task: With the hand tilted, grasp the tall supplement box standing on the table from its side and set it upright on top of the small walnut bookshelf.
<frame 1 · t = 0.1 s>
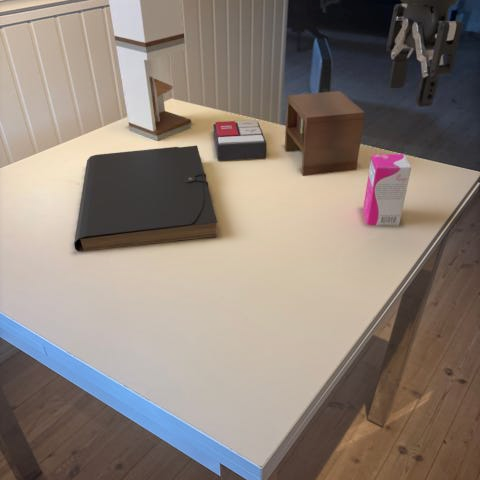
hand: (408, 95, 70), 23 cm above the table, tool pointing down, fingers open, 8 cm apart
shelf: (319, 159, 109), on the table
white tower: (160, 129, 124), on the table
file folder: (147, 202, 95), on the table
dark grey flat box: (238, 147, 115), on the table
supplement box: (379, 221, 89), on the table
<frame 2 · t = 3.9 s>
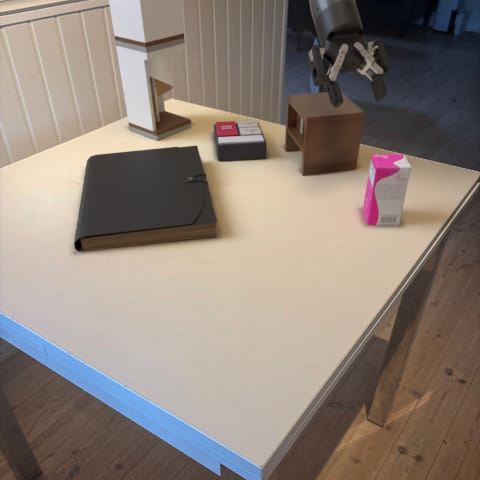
hand: (360, 102, 85), 17 cm above the table, tool tilted 45°, fingers open, 8 cm apart
nothing on the table moved.
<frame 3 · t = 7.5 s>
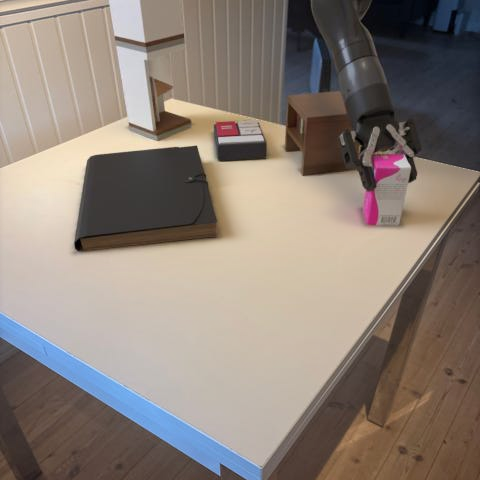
hand: (392, 185, 83), 8 cm above the table, tool tilted 45°, fingers closed on supplement box, 7 cm apart
supplement box: (379, 221, 89), on the table, touching gripper
everything else where it was.
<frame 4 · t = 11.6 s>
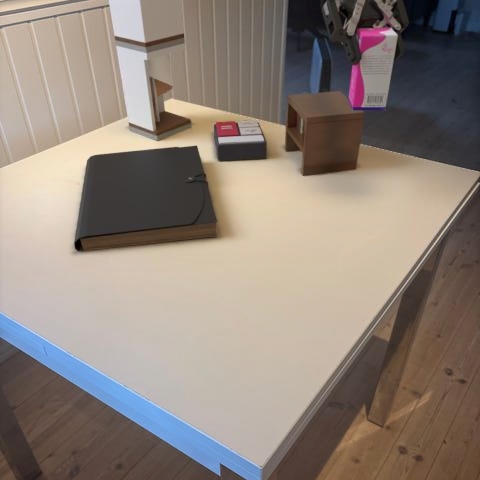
hand: (378, 59, 79), 24 cm above the table, tool tilted 45°, fingers closed on supplement box, 7 cm apart
supplement box: (365, 106, 86), point 17 cm above the table, touching gripper
everything else where it was.
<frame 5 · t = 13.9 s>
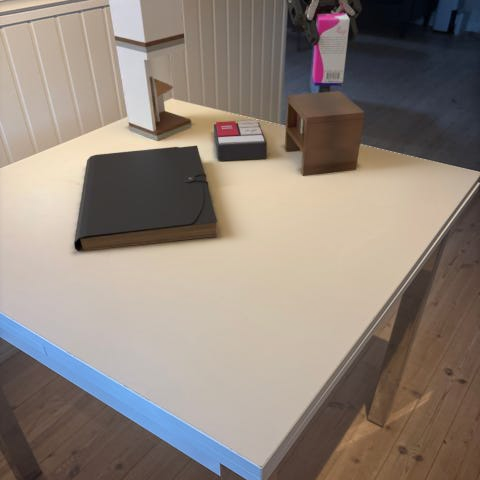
hand: (334, 40, 92), 24 cm above the table, tool tilted 45°, fingers closed on supplement box, 7 cm apart
supplement box: (326, 82, 98), point 16 cm above the table, touching gripper
everything else where it was.
when the fingers open (20 cm above the table, at t = 15.8 s): supplement box stays where it is, resting on shelf.
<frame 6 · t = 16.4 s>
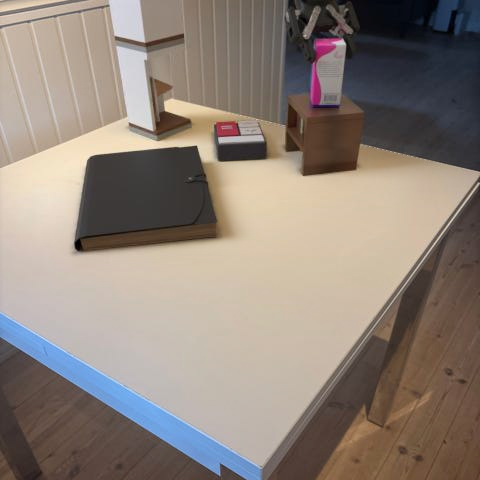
hand: (332, 59, 94), 21 cm above the table, tool tilted 45°, fingers open, 8 cm apart
supplement box: (324, 104, 101), point 12 cm above the table, touching shelf
everything else where it was.
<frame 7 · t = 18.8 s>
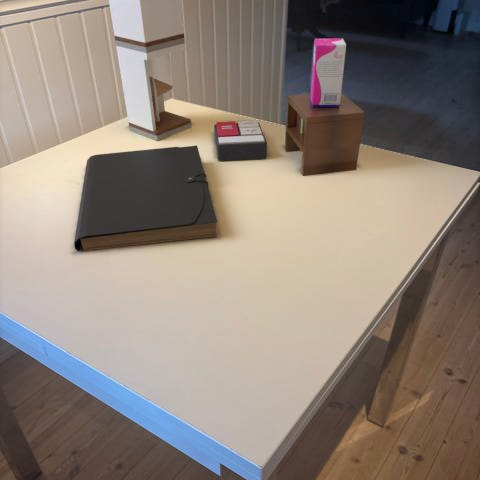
nothing on the table moved.
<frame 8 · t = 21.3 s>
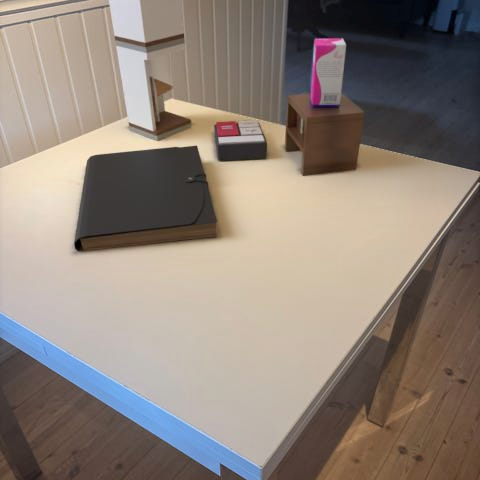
nothing on the table moved.
at the end: supplement box inside the target area on the shelf (0.1 cm from its centre), point 11.8 cm above the shelf's base; supplement box tilted 0°; the gripper is holding nothing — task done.
